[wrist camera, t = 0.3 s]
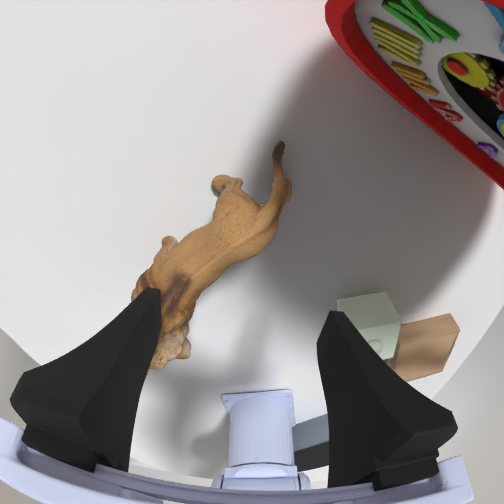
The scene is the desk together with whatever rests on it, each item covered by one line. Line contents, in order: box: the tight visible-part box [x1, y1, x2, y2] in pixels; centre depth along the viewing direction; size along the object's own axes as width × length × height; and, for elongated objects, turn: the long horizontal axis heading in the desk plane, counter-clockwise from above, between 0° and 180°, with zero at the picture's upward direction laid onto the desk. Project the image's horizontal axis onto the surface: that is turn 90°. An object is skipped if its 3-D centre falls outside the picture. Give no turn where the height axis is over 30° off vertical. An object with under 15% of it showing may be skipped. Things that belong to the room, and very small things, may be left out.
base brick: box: [384, 313, 460, 382], centre depth 27 cm, size 7×7×2 cm
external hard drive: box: [292, 414, 329, 472], centre depth 38 cm, size 13×19×4 cm
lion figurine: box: [131, 140, 291, 369], centre depth 17 cm, size 15×5×9 cm, turn 144°
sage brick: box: [337, 291, 402, 360], centre depth 24 cm, size 4×4×4 cm
